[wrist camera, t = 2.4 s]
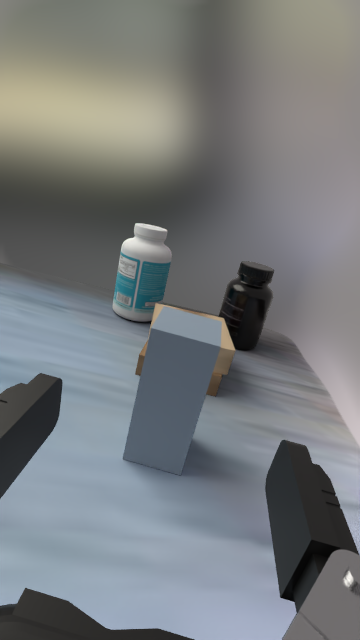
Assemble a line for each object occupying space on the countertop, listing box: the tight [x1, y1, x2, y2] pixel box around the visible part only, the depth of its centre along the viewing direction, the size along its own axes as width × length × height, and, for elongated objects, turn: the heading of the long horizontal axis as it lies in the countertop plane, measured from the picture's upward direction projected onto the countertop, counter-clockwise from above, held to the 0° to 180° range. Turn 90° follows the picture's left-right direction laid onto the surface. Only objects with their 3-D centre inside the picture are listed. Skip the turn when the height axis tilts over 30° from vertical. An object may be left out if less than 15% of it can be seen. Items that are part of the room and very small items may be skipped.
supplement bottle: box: [219, 261, 274, 350], centre depth 48 cm, size 7×7×12 cm
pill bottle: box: [113, 223, 172, 322], centre depth 48 cm, size 8×7×14 cm
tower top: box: [146, 303, 235, 375], centre depth 38 cm, size 9×9×3 cm
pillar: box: [123, 306, 222, 476], centre depth 24 cm, size 4×4×11 cm
